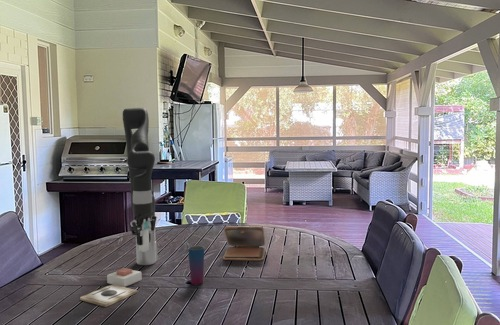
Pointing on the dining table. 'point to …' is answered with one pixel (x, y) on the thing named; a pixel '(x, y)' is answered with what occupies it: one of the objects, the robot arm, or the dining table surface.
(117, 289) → the paper board
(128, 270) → the button
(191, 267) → the cup
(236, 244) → the case
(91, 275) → the dining table surface
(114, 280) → the button housing
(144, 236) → the marker
